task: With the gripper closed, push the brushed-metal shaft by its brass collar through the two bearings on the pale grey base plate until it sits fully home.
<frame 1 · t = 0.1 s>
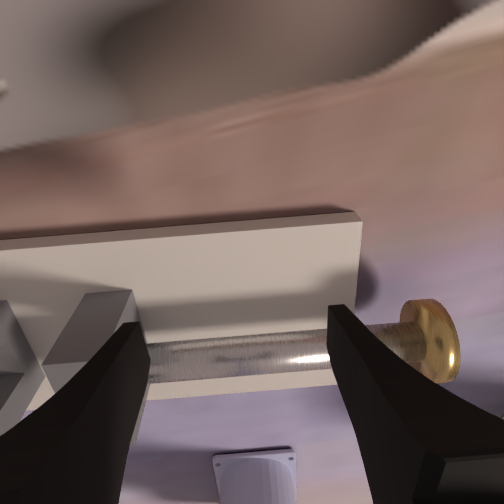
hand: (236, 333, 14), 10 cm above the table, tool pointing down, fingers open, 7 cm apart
shaft housing: (183, 314, 26), on the table
shaft: (248, 354, 22), point 4 cm above the table, slide at 8.0 cm
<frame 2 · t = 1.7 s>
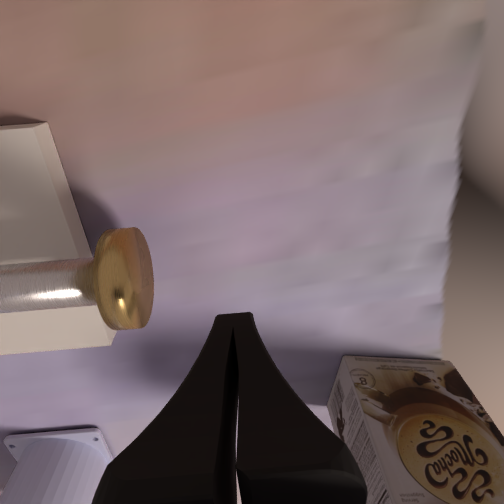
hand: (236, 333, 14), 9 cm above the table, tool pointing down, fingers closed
coffee box: (384, 381, 29), on the table
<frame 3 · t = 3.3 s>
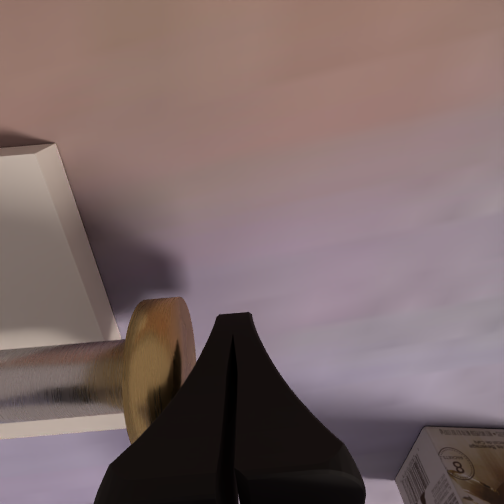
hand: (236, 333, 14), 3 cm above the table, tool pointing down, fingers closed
coffee box: (468, 452, 24), on the table
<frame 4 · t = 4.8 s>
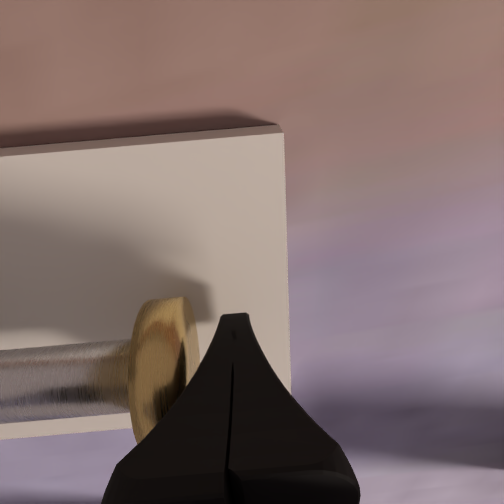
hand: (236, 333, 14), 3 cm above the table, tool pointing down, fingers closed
shaft housing: (20, 308, 16), on the table
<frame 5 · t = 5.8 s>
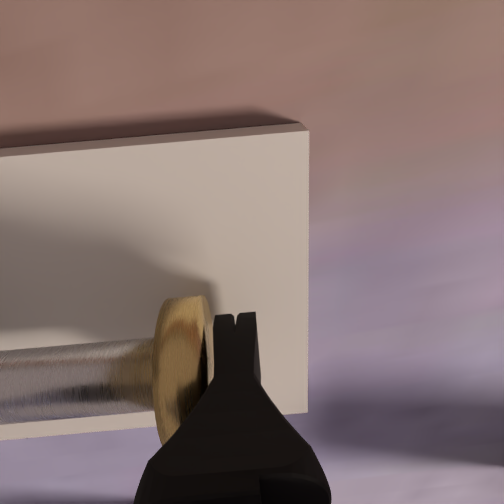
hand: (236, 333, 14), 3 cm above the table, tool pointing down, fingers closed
shaft housing: (38, 307, 16), on the table
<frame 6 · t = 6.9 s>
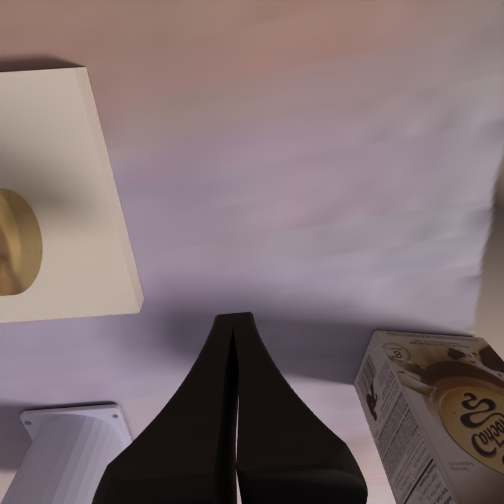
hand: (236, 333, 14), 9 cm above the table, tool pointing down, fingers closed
coffee box: (414, 359, 28), on the table
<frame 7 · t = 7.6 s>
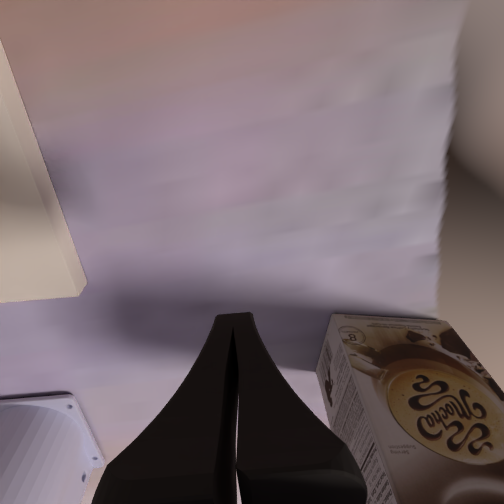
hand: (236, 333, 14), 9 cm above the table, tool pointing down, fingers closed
coffee box: (377, 344, 27), on the table
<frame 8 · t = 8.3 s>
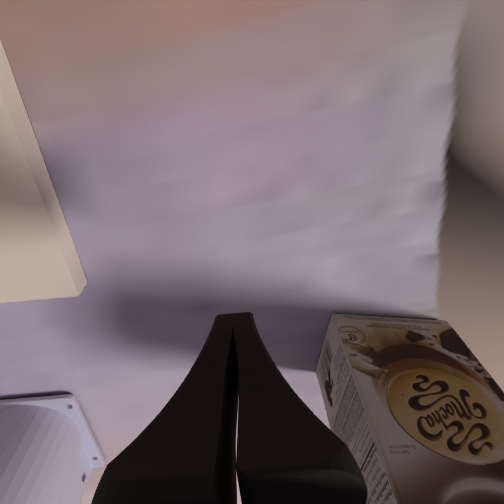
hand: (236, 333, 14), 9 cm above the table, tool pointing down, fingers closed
coffee box: (377, 344, 27), on the table
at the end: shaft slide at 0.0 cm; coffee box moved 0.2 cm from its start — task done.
